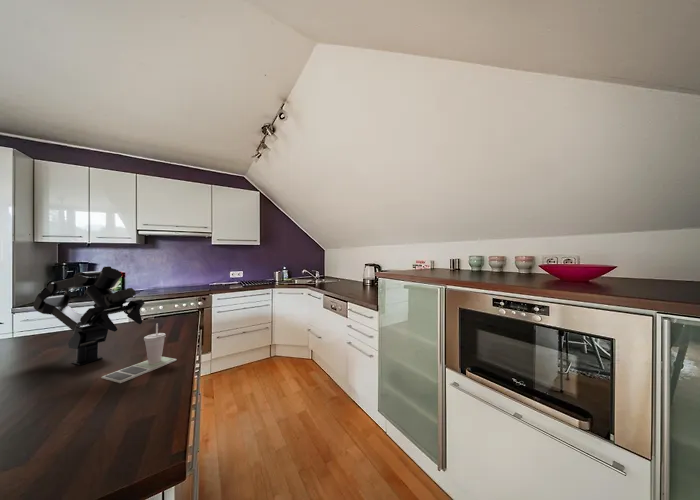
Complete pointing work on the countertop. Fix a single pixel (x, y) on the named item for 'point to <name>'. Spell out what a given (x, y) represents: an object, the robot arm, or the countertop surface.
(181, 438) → the countertop surface
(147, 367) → the board
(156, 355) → the smoothie
